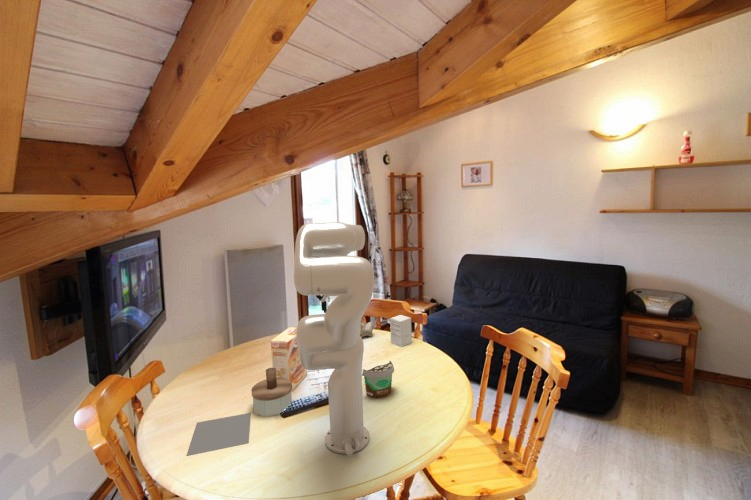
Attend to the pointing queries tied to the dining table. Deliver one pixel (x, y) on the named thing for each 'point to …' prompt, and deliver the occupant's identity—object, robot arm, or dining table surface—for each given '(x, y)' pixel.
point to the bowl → (271, 406)
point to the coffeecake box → (287, 357)
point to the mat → (220, 434)
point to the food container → (379, 380)
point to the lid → (271, 387)
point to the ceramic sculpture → (366, 329)
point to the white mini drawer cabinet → (400, 330)
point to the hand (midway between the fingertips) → (338, 310)
